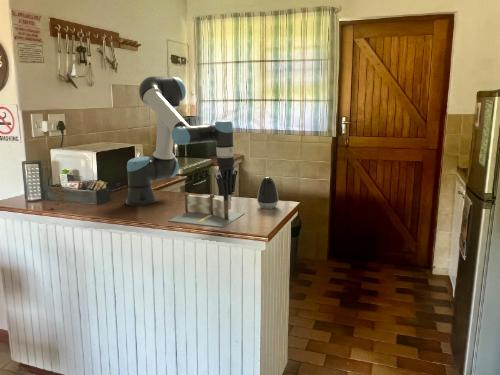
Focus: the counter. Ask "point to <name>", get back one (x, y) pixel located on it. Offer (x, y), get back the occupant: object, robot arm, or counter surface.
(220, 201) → the folding fence panel
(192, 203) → the fixed fence section
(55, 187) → the gingerbread man figurine
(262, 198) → the egg-shaped speaker
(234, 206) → the counter surface
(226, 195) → the robot arm
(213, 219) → the board
